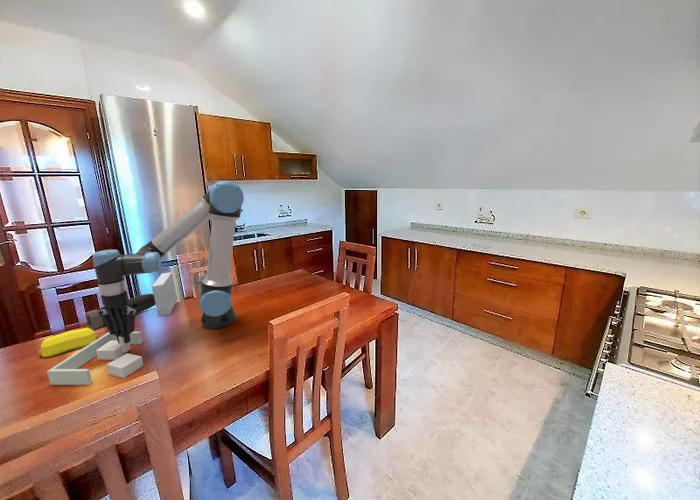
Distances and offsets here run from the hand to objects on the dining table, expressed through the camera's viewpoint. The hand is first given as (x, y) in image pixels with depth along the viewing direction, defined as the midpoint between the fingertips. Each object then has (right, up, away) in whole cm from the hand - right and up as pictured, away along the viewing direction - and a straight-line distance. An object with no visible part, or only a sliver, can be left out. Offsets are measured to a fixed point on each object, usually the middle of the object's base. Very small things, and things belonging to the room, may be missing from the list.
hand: (126, 350), depth 114 cm
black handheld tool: (-23, +6, +32) cm, 40 cm away
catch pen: (-5, -3, -5) cm, 7 cm away
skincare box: (-9, +8, +41) cm, 43 cm away
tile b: (+7, -4, -9) cm, 13 cm away
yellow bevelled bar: (-25, -1, +5) cm, 26 cm away
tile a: (-4, -2, 0) cm, 5 cm away
